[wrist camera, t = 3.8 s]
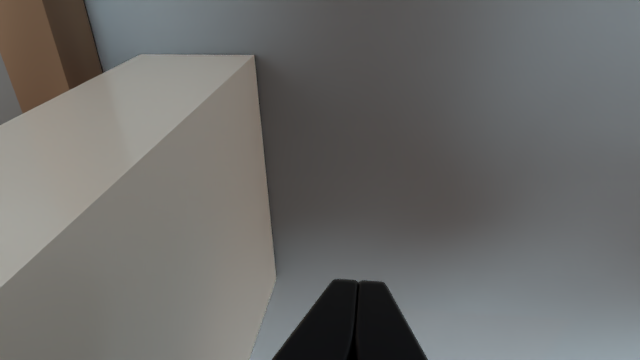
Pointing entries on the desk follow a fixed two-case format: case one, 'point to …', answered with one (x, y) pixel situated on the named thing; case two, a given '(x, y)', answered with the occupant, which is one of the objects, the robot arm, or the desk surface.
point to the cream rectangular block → (138, 216)
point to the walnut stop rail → (46, 48)
